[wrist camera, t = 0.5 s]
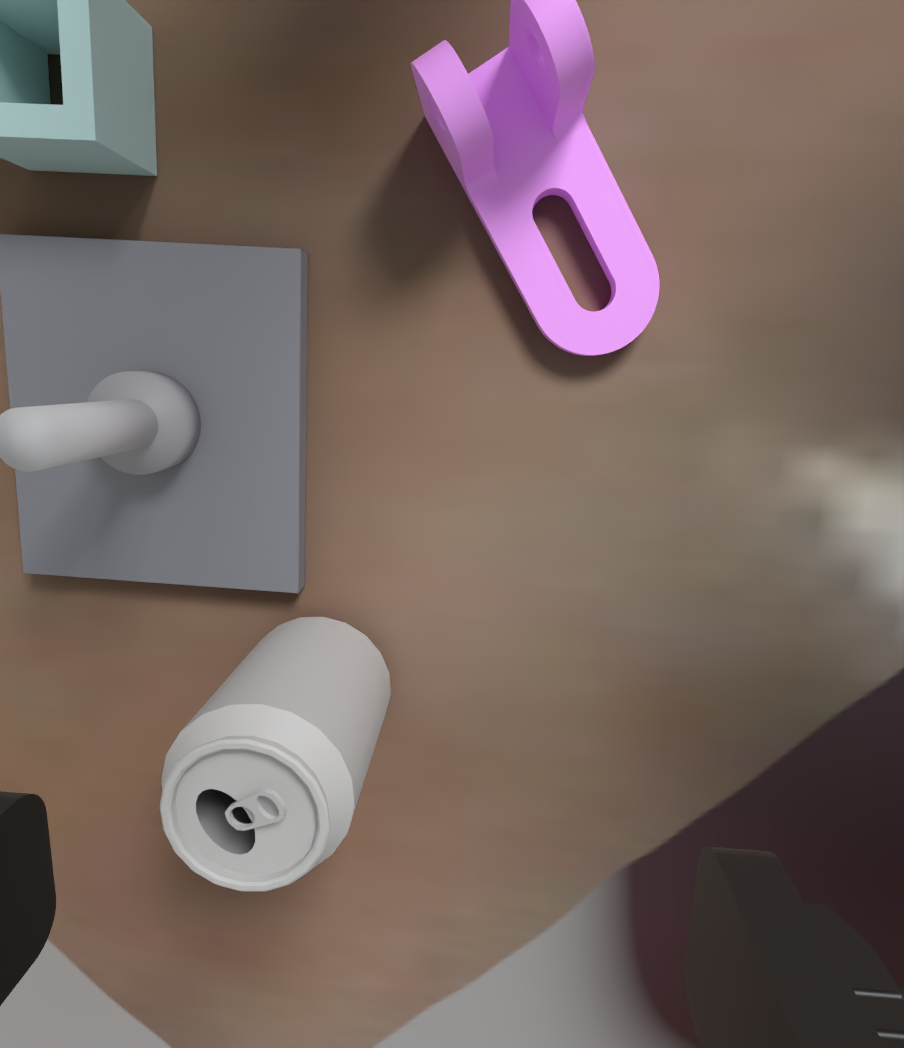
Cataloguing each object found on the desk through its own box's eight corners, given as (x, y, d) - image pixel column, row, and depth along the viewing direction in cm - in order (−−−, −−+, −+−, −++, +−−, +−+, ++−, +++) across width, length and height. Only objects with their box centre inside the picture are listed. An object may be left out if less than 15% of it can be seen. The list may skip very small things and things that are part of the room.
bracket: (424, 116, 31) (404, 44, 24) (536, 42, 30) (548, -55, 23) (564, 378, 33) (583, 379, 26) (673, 315, 32) (721, 300, 25)
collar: (19, 22, 31) (-71, -44, 26) (152, 27, 30) (86, -39, 26) (29, 170, 32) (-55, 134, 27) (156, 176, 32) (95, 140, 27)
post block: (13, 238, 33) (-207, 178, 22) (308, 253, 32) (220, 197, 22) (38, 566, 36) (-143, 643, 26) (304, 586, 35) (227, 672, 25)
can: (225, 651, 37) (98, 782, 25) (345, 585, 35) (271, 690, 24) (301, 765, 38) (214, 942, 26) (420, 704, 37) (384, 861, 25)
